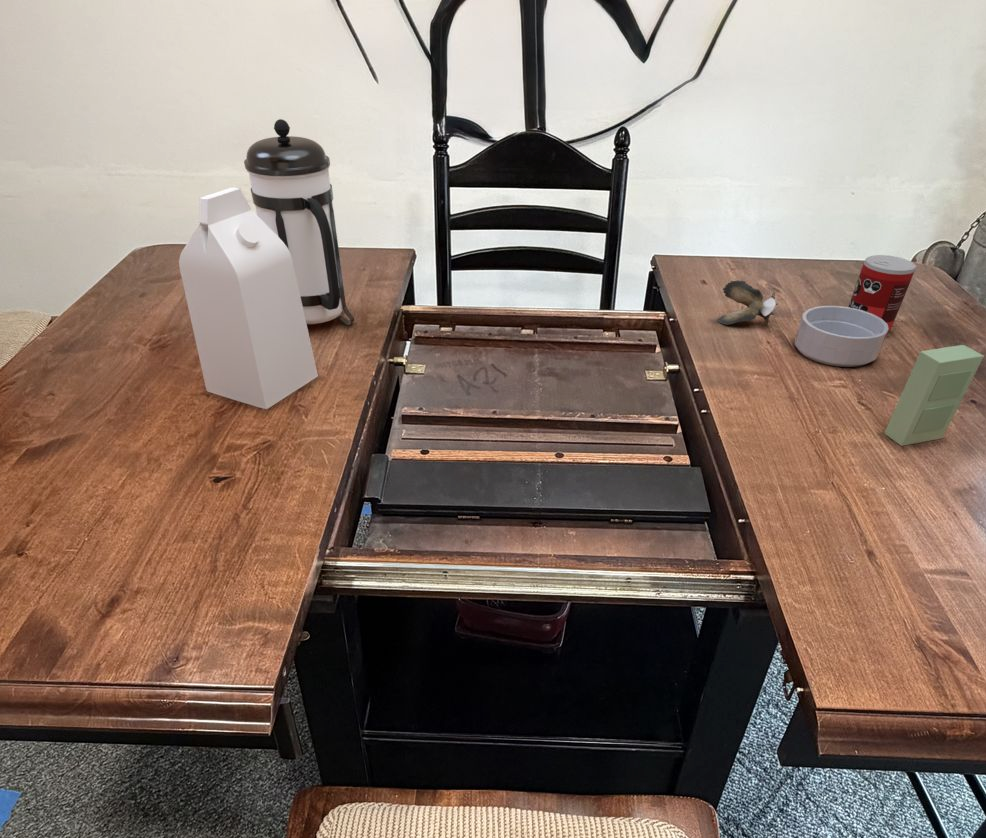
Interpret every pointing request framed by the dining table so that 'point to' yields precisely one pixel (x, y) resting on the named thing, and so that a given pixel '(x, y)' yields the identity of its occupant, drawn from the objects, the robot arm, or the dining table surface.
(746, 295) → the eagle figurine
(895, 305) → the canned food
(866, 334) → the bowl
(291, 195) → the coffee press
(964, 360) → the toy door
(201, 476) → the dining table surface
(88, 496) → the dining table surface
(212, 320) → the milk
